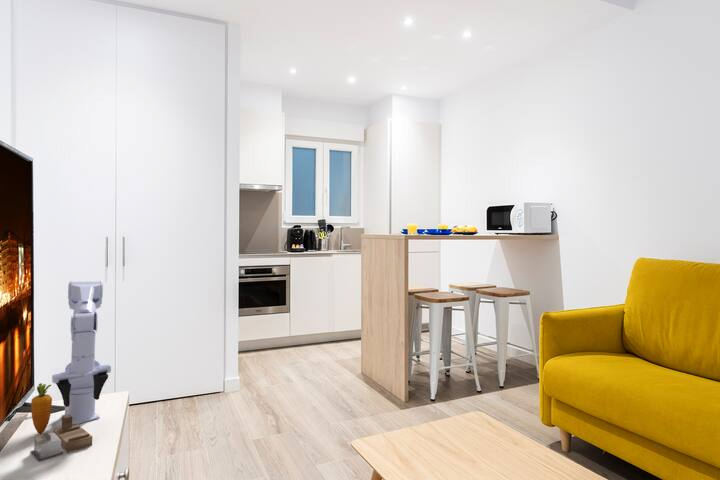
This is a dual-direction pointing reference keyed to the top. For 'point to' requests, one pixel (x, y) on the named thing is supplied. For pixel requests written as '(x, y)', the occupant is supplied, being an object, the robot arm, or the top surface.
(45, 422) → the carrot
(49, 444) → the lever cap
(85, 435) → the body
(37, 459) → the rubber mat
